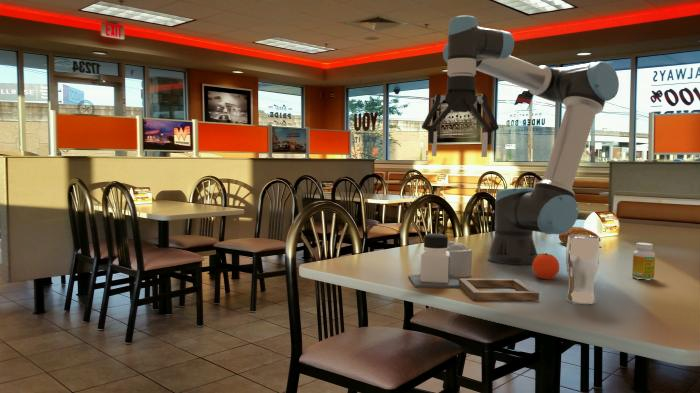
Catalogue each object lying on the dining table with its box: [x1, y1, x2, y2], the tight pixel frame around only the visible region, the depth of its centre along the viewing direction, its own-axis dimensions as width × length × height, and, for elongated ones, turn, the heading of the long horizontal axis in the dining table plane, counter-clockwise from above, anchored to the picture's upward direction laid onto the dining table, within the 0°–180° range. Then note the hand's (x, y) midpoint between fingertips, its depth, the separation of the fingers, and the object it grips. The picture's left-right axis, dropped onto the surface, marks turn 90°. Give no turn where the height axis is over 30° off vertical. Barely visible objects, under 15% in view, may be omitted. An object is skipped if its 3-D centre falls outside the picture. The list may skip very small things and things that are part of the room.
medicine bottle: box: [420, 233, 450, 283], centre depth 148 cm, size 7×7×12 cm
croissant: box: [558, 226, 601, 246], centre depth 219 cm, size 14×16×8 cm
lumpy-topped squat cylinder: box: [447, 241, 473, 278], centre depth 160 cm, size 10×13×9 cm
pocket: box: [458, 278, 540, 301], centre depth 138 cm, size 15×15×2 cm
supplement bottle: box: [631, 242, 656, 280], centre depth 157 cm, size 5×5×10 cm
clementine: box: [531, 252, 560, 280], centre depth 155 cm, size 8×7×7 cm
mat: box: [408, 274, 462, 289], centre depth 148 cm, size 12×12×1 cm
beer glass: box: [565, 235, 600, 305], centre depth 130 cm, size 7×7×15 cm
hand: (459, 156), depth 153 cm, fingers open, 13 cm apart
